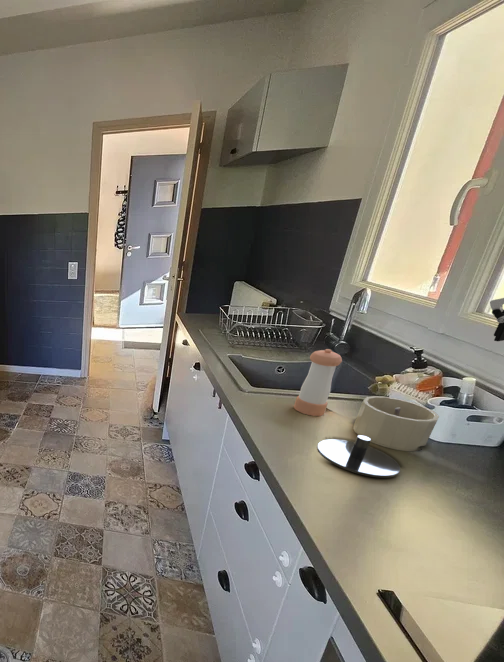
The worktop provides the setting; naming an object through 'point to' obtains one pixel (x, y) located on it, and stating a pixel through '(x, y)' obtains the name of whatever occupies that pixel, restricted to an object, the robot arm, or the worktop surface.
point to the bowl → (395, 423)
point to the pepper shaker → (317, 383)
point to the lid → (358, 457)
